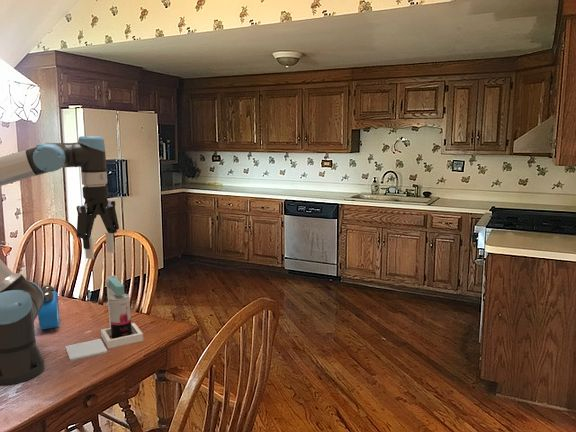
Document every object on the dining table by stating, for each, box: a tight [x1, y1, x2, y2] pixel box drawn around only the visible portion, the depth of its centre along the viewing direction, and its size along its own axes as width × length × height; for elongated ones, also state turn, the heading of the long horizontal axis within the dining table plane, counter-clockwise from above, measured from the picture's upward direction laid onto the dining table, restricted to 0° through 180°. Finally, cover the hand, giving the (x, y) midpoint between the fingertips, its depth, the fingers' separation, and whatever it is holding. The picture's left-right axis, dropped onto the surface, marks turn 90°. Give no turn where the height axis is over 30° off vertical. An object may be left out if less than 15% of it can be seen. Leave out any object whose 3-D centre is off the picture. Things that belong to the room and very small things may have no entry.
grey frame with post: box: [100, 286, 144, 350], centre depth 168 cm, size 11×18×16 cm, turn 31°
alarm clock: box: [37, 284, 60, 331], centre depth 175 cm, size 13×6×15 cm, turn 23°
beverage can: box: [109, 293, 133, 339], centre depth 165 cm, size 6×7×15 cm
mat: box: [65, 338, 108, 362], centre depth 157 cm, size 11×11×1 cm
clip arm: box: [105, 275, 126, 296], centre depth 168 cm, size 4×15×3 cm, turn 32°
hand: (100, 255), depth 157 cm, fingers open, 8 cm apart
